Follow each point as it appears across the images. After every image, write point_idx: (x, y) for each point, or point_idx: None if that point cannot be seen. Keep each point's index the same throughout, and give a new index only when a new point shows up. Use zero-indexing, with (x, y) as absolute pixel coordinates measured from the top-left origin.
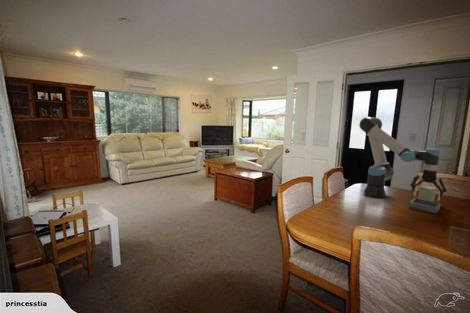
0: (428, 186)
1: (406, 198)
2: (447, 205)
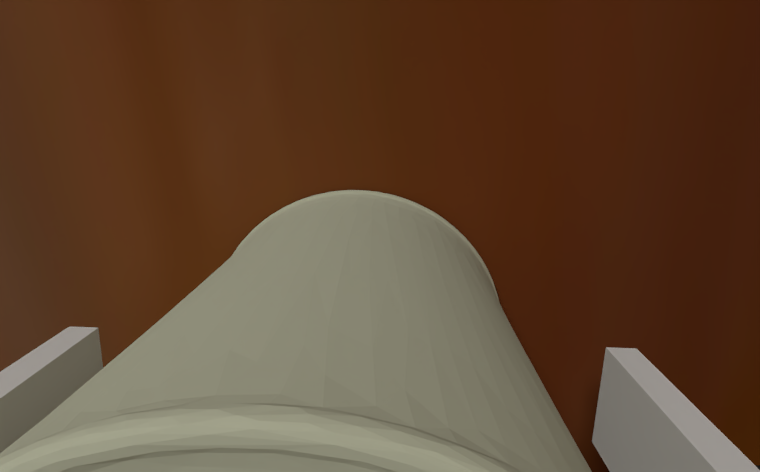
0: (226, 466)
1: (9, 321)
2: (738, 209)
